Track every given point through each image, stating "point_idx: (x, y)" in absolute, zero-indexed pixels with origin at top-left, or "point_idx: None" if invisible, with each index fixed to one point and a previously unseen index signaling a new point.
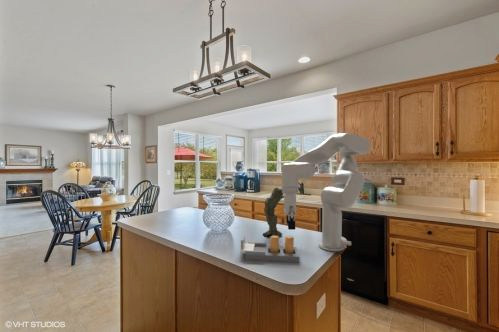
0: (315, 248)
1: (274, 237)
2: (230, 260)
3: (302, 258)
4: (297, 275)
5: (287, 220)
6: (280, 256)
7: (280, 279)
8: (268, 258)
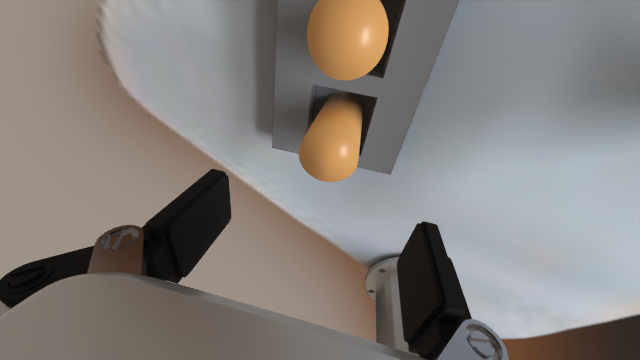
0: None
1: (332, 30)
2: None
3: None
4: (173, 95)
5: (421, 249)
6: (276, 56)
7: (118, 13)
8: None
